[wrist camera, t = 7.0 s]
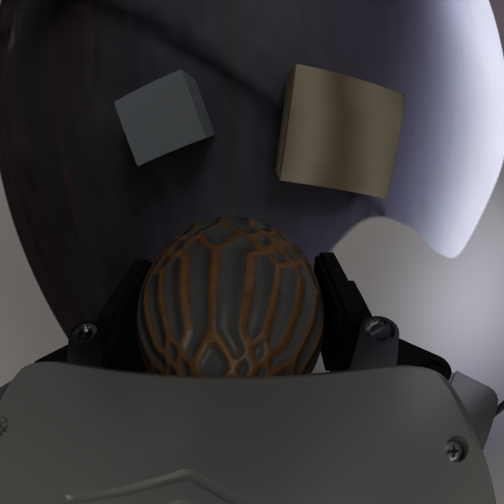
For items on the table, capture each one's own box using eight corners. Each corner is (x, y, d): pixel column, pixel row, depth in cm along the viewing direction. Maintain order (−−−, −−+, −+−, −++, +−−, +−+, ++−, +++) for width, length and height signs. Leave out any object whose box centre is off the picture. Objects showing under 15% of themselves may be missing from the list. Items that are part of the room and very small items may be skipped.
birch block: (381, 97, 22) (405, 95, 18) (365, 185, 27) (386, 198, 22) (287, 74, 22) (296, 63, 17) (274, 170, 26) (280, 180, 22)
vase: (328, 281, 14) (383, 435, 6) (221, 334, 16) (206, 477, 8) (256, 166, 11) (268, 290, 3) (140, 247, 13) (50, 390, 5)
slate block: (195, 80, 22) (181, 69, 16) (215, 134, 24) (205, 137, 19) (140, 104, 22) (114, 102, 17) (159, 156, 25) (137, 166, 20)
